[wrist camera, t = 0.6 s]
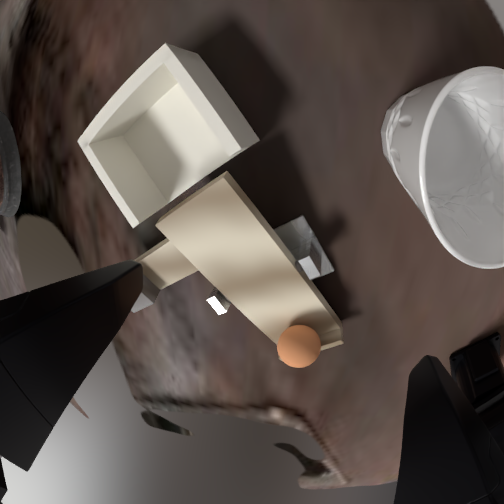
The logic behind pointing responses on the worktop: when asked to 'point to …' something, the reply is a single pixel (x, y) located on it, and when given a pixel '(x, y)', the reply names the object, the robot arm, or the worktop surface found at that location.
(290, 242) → the fulcrum
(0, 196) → the tankard
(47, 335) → the robot arm
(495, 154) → the white cup
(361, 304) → the worktop surface
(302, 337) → the ball
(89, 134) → the tray
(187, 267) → the lever
